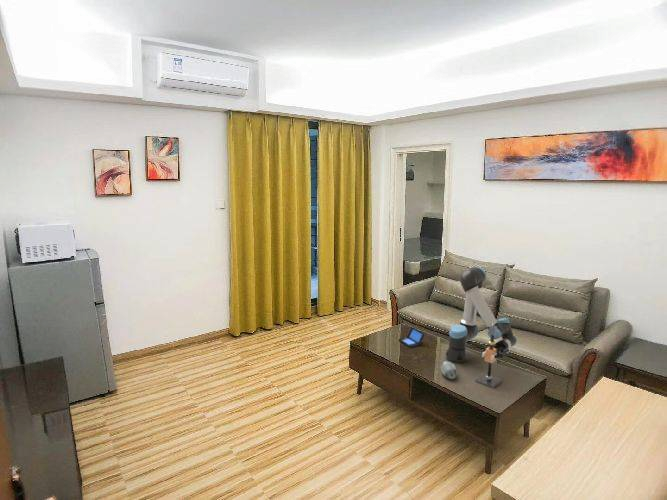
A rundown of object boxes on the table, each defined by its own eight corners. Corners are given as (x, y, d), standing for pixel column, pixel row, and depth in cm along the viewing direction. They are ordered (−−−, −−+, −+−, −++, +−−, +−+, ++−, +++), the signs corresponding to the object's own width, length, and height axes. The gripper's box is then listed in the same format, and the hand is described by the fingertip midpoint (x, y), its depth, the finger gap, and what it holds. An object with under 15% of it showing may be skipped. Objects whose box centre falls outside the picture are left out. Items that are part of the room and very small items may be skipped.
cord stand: (475, 381, 260) (479, 323, 253) (483, 374, 269) (488, 318, 261) (493, 388, 252) (499, 328, 244) (501, 381, 261) (507, 323, 253)
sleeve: (484, 360, 258) (485, 349, 256) (488, 358, 261) (489, 346, 260) (492, 363, 254) (493, 351, 253) (495, 360, 258) (496, 349, 256)
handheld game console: (398, 340, 322) (398, 329, 320) (411, 337, 328) (412, 326, 326) (410, 348, 308) (410, 337, 306) (424, 345, 314) (424, 333, 312)
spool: (461, 376, 259) (453, 362, 260) (447, 383, 260) (440, 368, 261) (457, 371, 273) (450, 357, 274) (444, 377, 274) (437, 363, 275)
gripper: (516, 355, 264) (500, 367, 248) (489, 346, 276) (472, 357, 260) (517, 344, 262) (502, 356, 246) (490, 336, 275) (473, 346, 259)
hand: (487, 356), depth 253 cm, fingers closed on sleeve, 5 cm apart
